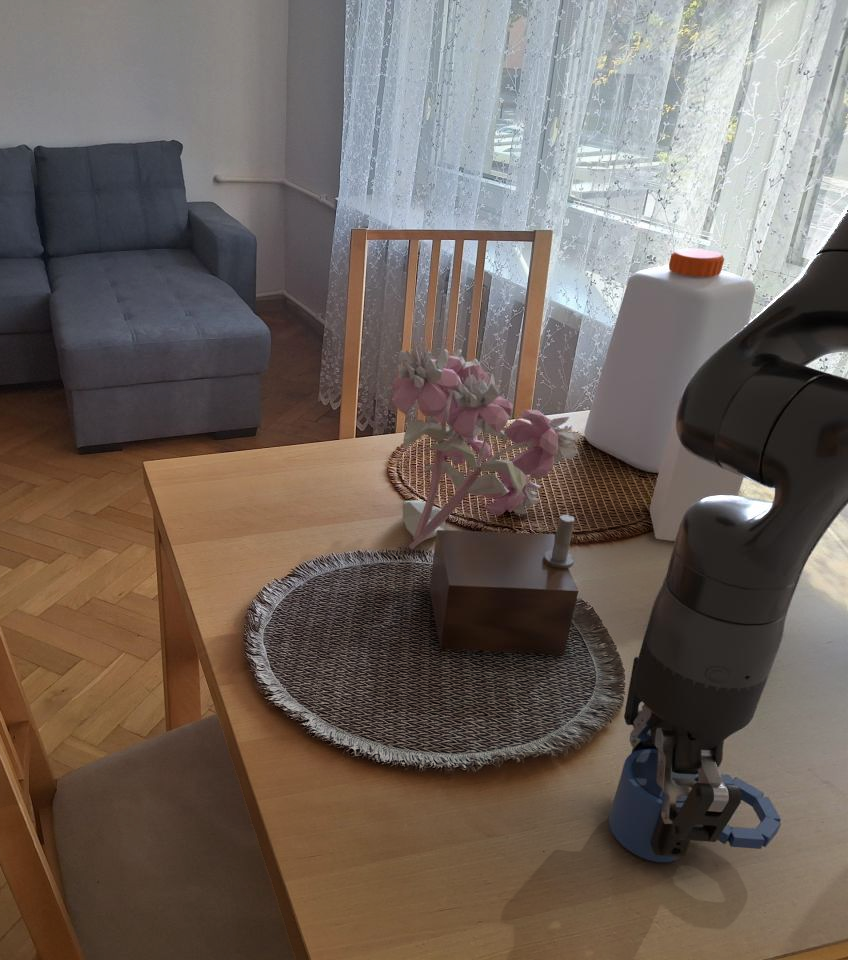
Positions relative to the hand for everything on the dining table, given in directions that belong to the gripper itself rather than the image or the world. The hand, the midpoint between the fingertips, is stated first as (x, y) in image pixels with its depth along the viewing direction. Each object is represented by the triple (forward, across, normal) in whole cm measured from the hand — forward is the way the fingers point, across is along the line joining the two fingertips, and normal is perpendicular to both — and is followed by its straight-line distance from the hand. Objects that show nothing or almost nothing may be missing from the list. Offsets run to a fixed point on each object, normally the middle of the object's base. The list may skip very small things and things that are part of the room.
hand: (652, 816), depth 66 cm
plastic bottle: (+3, +68, -22) cm, 71 cm away
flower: (+2, +47, +6) cm, 47 cm away
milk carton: (+3, +46, -19) cm, 50 cm away
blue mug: (+2, 0, -3) cm, 3 cm away
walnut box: (+2, +26, +7) cm, 27 cm away
